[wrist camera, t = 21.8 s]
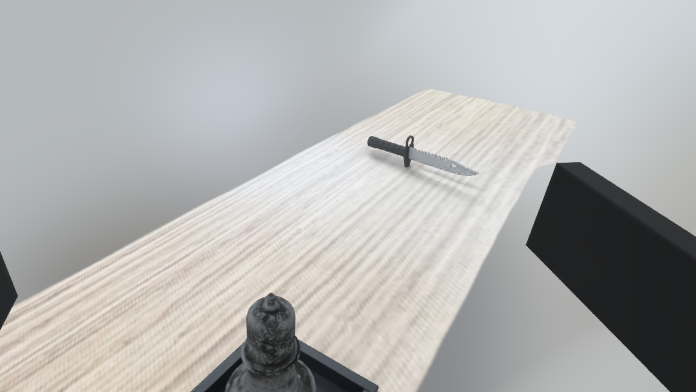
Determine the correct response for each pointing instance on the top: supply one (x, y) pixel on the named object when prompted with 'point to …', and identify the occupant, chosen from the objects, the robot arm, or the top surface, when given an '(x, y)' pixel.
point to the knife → (420, 156)
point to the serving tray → (330, 377)
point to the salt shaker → (271, 351)
